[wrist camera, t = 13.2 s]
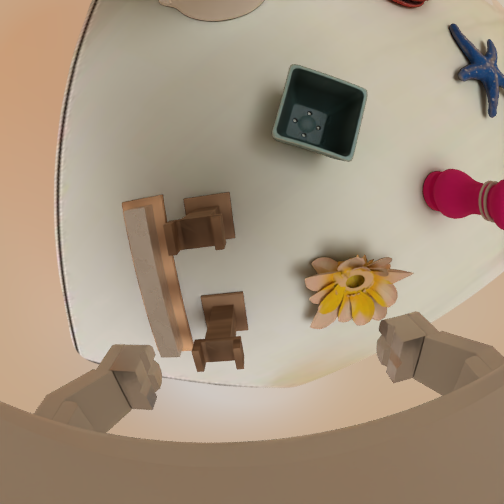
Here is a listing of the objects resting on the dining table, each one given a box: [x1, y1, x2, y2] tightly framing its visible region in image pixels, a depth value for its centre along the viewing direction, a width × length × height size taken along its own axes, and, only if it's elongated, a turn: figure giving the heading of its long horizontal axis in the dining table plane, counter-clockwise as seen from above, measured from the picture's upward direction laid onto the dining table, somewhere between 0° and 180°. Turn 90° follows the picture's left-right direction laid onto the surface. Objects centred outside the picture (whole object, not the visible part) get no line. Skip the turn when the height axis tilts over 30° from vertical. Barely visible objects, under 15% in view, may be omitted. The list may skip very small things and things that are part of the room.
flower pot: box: [272, 64, 367, 162], centre depth 29 cm, size 9×9×9 cm
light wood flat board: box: [122, 195, 194, 351], centre depth 39 cm, size 24×6×1 cm, turn 7°
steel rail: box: [124, 205, 183, 357], centre depth 37 cm, size 22×3×3 cm, turn 7°
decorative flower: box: [305, 254, 414, 329], centre depth 35 cm, size 15×11×10 cm
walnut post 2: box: [192, 291, 248, 372], centre depth 35 cm, size 6×6×12 cm
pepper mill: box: [423, 169, 504, 230], centre depth 26 cm, size 7×7×20 cm
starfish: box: [449, 24, 504, 118], centre depth 27 cm, size 19×19×5 cm
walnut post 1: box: [163, 192, 235, 256], centre depth 31 cm, size 6×6×12 cm
